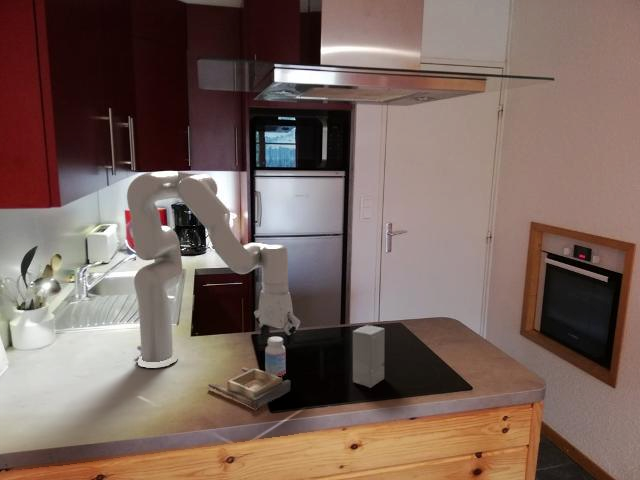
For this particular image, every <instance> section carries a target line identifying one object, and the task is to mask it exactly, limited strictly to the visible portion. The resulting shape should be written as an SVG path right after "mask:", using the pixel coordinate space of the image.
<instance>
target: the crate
mask: <svg viewBox="0 0 640 480" xmlns="http://www.w3.org/2000/svg"><path fill="white" fill-rule="evenodd" d="M253 380H258V381H260V382H258V383H257V382H256V383H254V384H253V386H251V387H250V388H248V387H246V386H243V385H245V384H247V383H249V382H251V381H253ZM282 381H283V377H282V376H281V377H278V376H275V375H272V374H270V373H267V372H265V371H264V370H261V369H258V368H256V367H254V368H251V370H250V371H247V372H245V373H243V374H242V373H241V374H239V375H237V376H235V377H233V378H231V379H229V380H227V389H229V390H231V391H233V392H236V393H238V394H241V395H243V396H245V397H248V398H250V399H252V398H254V397H256V396H258V395H259V394H261V393H263V392H265V391H267V390H269V389H271V388H272V387H274V386H276V385H278V384H280V383H282Z"/></svg>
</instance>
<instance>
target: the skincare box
mask: <svg viewBox="0 0 640 480" xmlns="http://www.w3.org/2000/svg"><path fill="white" fill-rule="evenodd" d="M385 332H386V331H385V327H378V326H374V325H370V324H366V325H364V326H360V327H358V328H356V329H354V330H352V382H353V383H355V384H358V385H361V386H364V387H367V388H369V389H371V388H372V387H374V386H376V385H377V384H379V383H380V382H382V381H383V380H384V379H385V335H386V334H385Z"/></svg>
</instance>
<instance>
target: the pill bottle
mask: <svg viewBox="0 0 640 480" xmlns="http://www.w3.org/2000/svg"><path fill="white" fill-rule="evenodd" d="M264 351H265V352H264V356H265V357H264V358H265V361H264V363H265V364H264V367H265V371H264V372H267V373H270V374H272V375H275V376H281V377H283V376H285V375H286V372H287V371H286V370H287V369H286V364H287V363H286V361H287V360H286V347H285V346H284V338H282V337H281V336H271V337H270V338H268V339H267V346H266V347H265V349H264ZM284 374H285V375H284ZM282 375H283V376H282Z"/></svg>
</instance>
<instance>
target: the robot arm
mask: <svg viewBox="0 0 640 480" xmlns="http://www.w3.org/2000/svg"><path fill="white" fill-rule="evenodd" d="M217 194H218V185H217V183H216V181H215V179H214V178H212V177H211V176H210V175H207V174H201V173H192V172H185V171H176V170H175V171H174V170H164V171H163V170H162V171H151V172H146V173H142V174H140V175H138V176H137V177H135V178H134V179H133V180H132V181H131V182H130V184H129V186H128V188H127V193H126V201H127V206H128V210H129V216H130V224H131V231H132V232H131V233H132V239H133V241H132V242H133V247H134V251H135V254H136V256H137V258H139V259H140V260H142V261H152V260H153V261H154V262H151V263H149V264H147V265H144V266H142V267H141V268H140V269H139V270H138V271H137V272H136V274H135V276H134V279H133V280H134V281H133V284H134V285H133V286H134V290H135V293H136V297H137V304H138V305H137V306H138V316H139V331H140V334H139V335H140V345H138V346H137V347H136V349H137V350H138V351H140V356H142V360H143V361H146V362H160V361H164V360H167V359H169V358H171V357H172V355H173V352H174V351H173V349H174V347H173V325H172V324H173V323H172V307H171V302H170V298H169V296H168V294H167V291H168V290H170V289H172V288H173V287H175V286H177V285H178V284H179V283H180V282H181V280H182V279H183V262H182V252H181V245H180V240H179V237H178V234H177V233H176V231H175V230H174V229H173V228H172V227H170V226H168V225H162V223H161V214H160V212H159V209H158V207H157V205H156V202H158V201H162V200H168V199H180V200H181V201H182V202H183V203H184V205H185V206H186V207H187V208H188V209H189V211H190V212H191V213H192V214H193V215H194V216H195V217H196V218H197V220H198V221H199V222H200V224H202V226H204V228H205V229H206V231H207V234H208V237H209V240H210V242H211V245H212V247H213V249H214V251H215V253H216V254H217V256H218V257H219V258H220V259H221V260H222V261H223V263H225V265H226V266H227V267H228V268H229V269H230V270H231V271H233V272H235V273H236V274H239V275H245V274H249V273H250V272H252V271H253V270H256V269H258V268H260V267H261V279H262V281H261V282H260V284H261V286H262V289H261V291H260V294H259V300H258V301H259V302H258V309H257V310H254V312H253V315H254V316H255V318H256V319H255V320H256V322H257V323H258V327H259V328H260V341H262V342H264V341H266V340H268V338H270V327H271V328H277V329H283V330H284V332H285V333H286V334H285V335H284V341H285V343H284V344H285V346H284V347H285V349H286V348H287V349H288V348H291V347H293V346H294V345H295V333H296V331H297V330H298V329H299V326H300V325H301V320H300V319H299V318H297V316H295V314H294V312H293V311H294V310H293V302H292V301H293V300H292V297H291V293H290V291H289V268H288V265H289V264H288V261H289V260H288V258H289V257H288V248H287V247H286V246H285V245H283V244H264V243H260V242H259V243H258V242H249V243H246V244H244V245H243V244H242V243H241V242H240V241H239V239H238V238H237V237H236V236H235V234H234V233H233V230H232V229H231V224H230V218H231V212H230V210H229V208H227V206H226V205H225V203H223V202H222V200H221V199H220V198H219V197H218V196H217Z"/></svg>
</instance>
